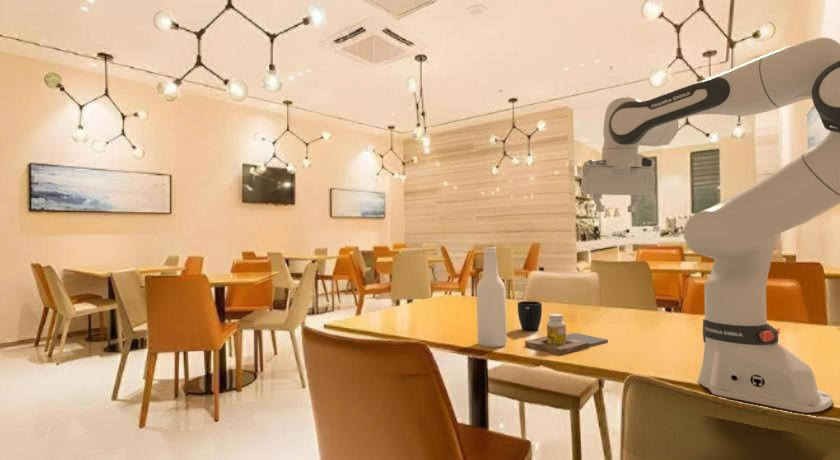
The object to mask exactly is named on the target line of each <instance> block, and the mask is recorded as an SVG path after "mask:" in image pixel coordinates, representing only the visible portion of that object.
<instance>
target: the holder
mask: <svg viewBox="0 0 840 460" xmlns="http://www.w3.org/2000/svg"><path fill="white" fill-rule="evenodd" d="M524 346H525V347H528V348H531V349H535V350H539V351H542V352H543V351H544V352H547V353H550V354H555V355H558V356H562V355H566V354H569V353H573V352H578V351H583V350H586V349H589V348H590V347H589V342H584V341H579V340H575V339H570V338H566V344H565V345H560V346H556V345H552V344H548V343H547V335H546V336H542V337H541V336H540V337H538V338H533V339H529V340H525V341H524Z"/></svg>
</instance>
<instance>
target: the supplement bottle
mask: <svg viewBox="0 0 840 460" xmlns="http://www.w3.org/2000/svg"><path fill="white" fill-rule="evenodd" d="M563 315H564V314H561V313H549V315H548V319H549V321H547V323H546V336H547V343H548V344H552V345H556V346H560V345H565V344H566V335H567V331H566V330H567V327H566V326H567V325H566V323H565V321H564V316H563Z"/></svg>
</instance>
